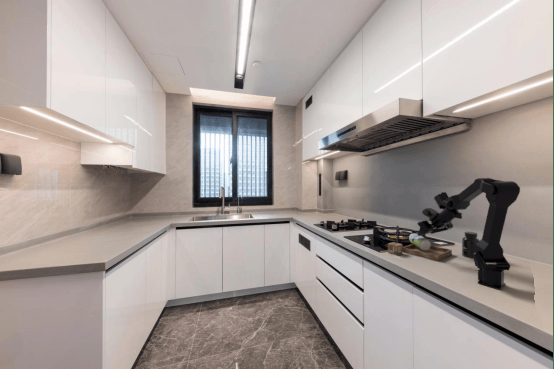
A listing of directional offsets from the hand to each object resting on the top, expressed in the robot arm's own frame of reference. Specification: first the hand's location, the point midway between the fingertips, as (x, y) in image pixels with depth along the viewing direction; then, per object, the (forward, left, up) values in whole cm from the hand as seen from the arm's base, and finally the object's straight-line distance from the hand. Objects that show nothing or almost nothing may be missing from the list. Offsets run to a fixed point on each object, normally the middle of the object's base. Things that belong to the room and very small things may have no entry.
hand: (424, 234), depth 125 cm
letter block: (+9, +12, -10) cm, 18 cm away
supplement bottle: (-16, -12, -10) cm, 22 cm away
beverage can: (-2, +2, -6) cm, 7 cm away
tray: (-1, 0, -10) cm, 10 cm away
